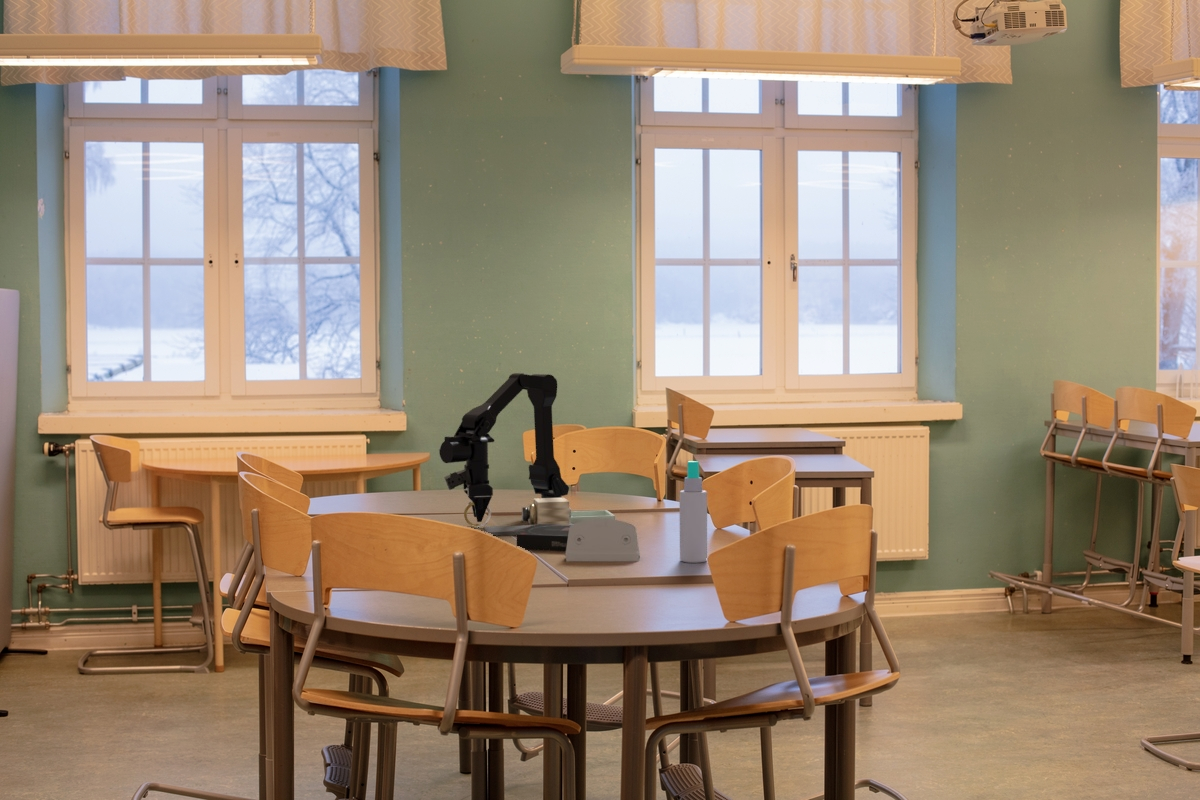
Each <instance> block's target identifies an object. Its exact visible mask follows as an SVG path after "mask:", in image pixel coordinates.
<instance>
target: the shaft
mask: <svg viewBox="0 0 1200 800" xmlns="http://www.w3.org/2000/svg"><path fill="white" fill-rule="evenodd" d="M571 511H572V508H571V507H569V518H570V517H571ZM536 519H537V509H536V506H535V504H534V503H528V506H525V507H521V520H522V522H528V524H529V525H534V524H536Z"/></svg>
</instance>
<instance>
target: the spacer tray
mask: <svg viewBox="0 0 1200 800" xmlns="http://www.w3.org/2000/svg"><path fill="white" fill-rule="evenodd" d="M592 519H613V520H616V515H615V514H613V513H612V512H610V511H609V510H607V509H601V510H600V509H599V510H597V509H596V510H571V517H570V518H569V524H573V523H579V522H582V521H586V520H592Z"/></svg>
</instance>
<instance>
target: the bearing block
mask: <svg viewBox="0 0 1200 800" xmlns="http://www.w3.org/2000/svg"><path fill="white" fill-rule="evenodd" d="M533 504H535V506H536V509H537V519H536V524H529V525H528V524H526V525H525V524H524V525H500V526H499V525H498V526H483V531H486V532H488V533H491V534H493V535H496V536H495V537H499V536H498V535H501V536H500V537H502V536H503V537H504V536H505V537H506V536H517V534H519V533H521V532H523V531H525V530H527V529H529V528H531V527H533V526H536V525H538V524H553V525H573V524H576V523H573V524H569V508H570V501H569V500H568V499H566V498H565V497H562V498H541V497H540V498H538V497H537V498H535V497H534V498H533Z"/></svg>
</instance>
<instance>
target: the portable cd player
mask: <svg viewBox="0 0 1200 800" xmlns="http://www.w3.org/2000/svg"><path fill="white" fill-rule="evenodd" d="M570 527H571V525H553V524H538V525H536V526H533V527H531V528H529V529H527V530H525V531H523V532H521V533H519V534H517V535H516V547H517V546H520V547H522V548H525V549H527V551H543V552H544V551H548V552H566V547H567V541H568V534H569V528H570Z"/></svg>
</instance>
